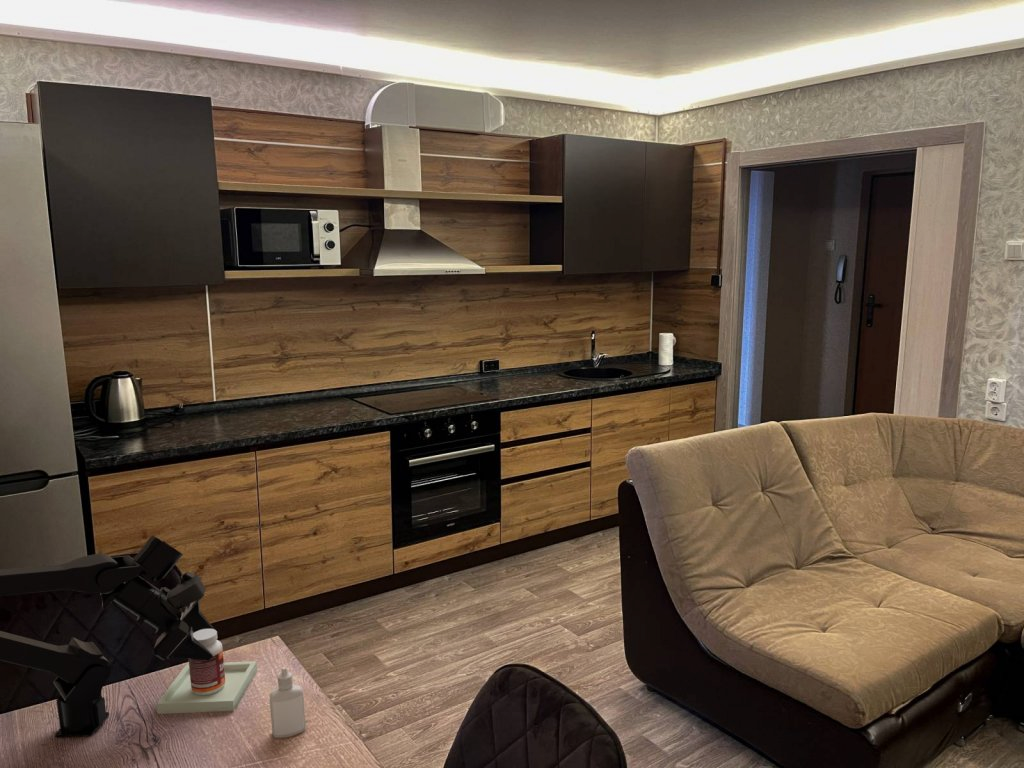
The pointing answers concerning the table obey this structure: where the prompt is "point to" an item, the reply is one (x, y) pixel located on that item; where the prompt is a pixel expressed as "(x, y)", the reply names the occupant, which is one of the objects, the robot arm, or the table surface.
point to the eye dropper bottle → (287, 707)
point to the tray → (225, 699)
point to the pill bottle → (207, 665)
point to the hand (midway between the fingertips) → (213, 646)
